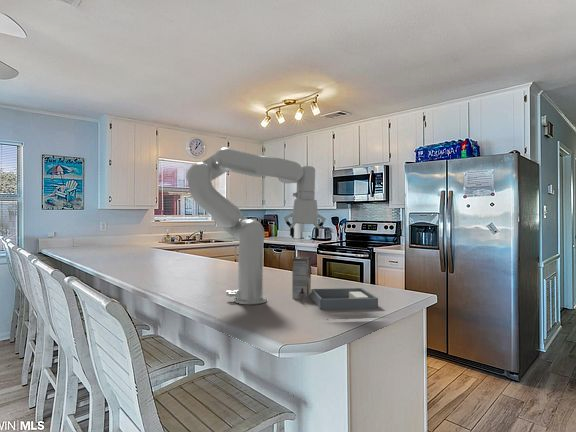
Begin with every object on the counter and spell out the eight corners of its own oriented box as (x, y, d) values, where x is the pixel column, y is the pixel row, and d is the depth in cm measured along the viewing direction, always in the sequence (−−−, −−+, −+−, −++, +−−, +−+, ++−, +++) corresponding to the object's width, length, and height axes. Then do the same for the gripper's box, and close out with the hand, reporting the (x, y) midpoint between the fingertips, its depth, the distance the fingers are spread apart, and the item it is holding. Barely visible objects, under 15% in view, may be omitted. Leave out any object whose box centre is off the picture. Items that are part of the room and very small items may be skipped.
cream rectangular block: (356, 305, 131) (356, 297, 131) (348, 299, 141) (348, 291, 141) (368, 305, 131) (368, 297, 131) (360, 299, 141) (360, 291, 141)
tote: (320, 312, 125) (320, 299, 125) (311, 300, 143) (311, 288, 143) (378, 311, 127) (378, 298, 127) (361, 299, 146) (361, 288, 146)
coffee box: (296, 294, 155) (296, 256, 155) (310, 294, 154) (311, 256, 154) (291, 298, 146) (292, 258, 146) (307, 299, 145) (307, 259, 145)
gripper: (285, 195, 145) (283, 237, 145) (327, 196, 147) (326, 239, 146) (283, 196, 153) (282, 237, 153) (324, 197, 154) (323, 238, 154)
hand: (304, 238), depth 150 cm, fingers open, 9 cm apart
